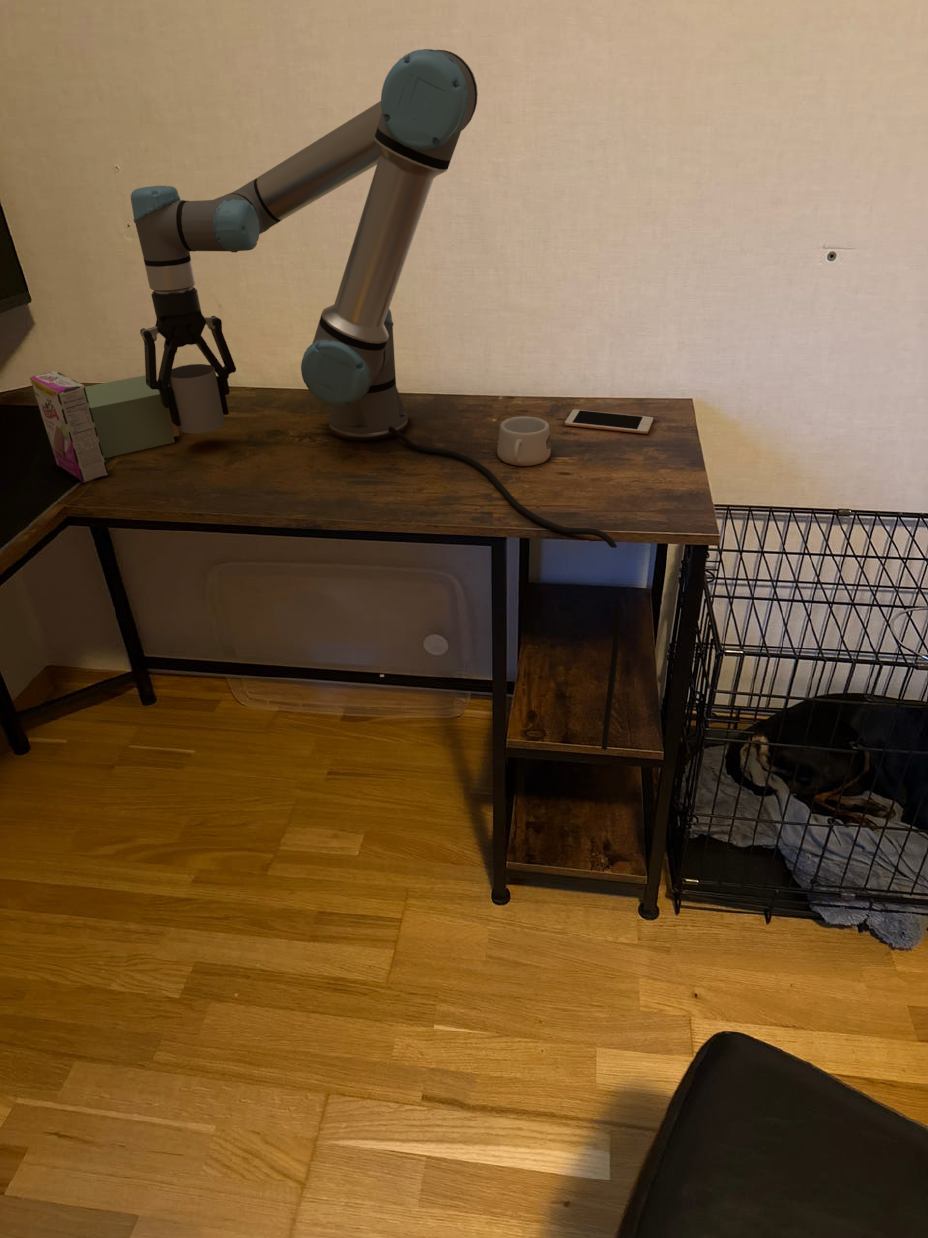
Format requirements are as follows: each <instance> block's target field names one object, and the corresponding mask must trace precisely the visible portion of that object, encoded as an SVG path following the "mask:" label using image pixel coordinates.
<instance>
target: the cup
mask: <svg viewBox="0 0 928 1238" xmlns="http://www.w3.org/2000/svg"><path fill="white" fill-rule="evenodd" d="M216 376H217V373H216V372H215V368H214V367H213V366H211V365H210V364H207V363H193V364H185V365H180V366H176V367H174V368H173V367H172V372H171V376H170V381H169V387H170V388H171V389H172V390H173V393H174V397H175V402H176V406H177V411H178V415H179V419H180V424H181V426H177V427H178V431H181V432H182V433H185V434H205V433H210V432H214V431H216V430H219V429H221V428H223V427H224V426H225V425H226V419H225V415H224V414H223V408H222V403H221V398H220V393H219V388H218V383H217V377H216Z"/></svg>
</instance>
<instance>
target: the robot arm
mask: <svg viewBox="0 0 928 1238" xmlns="http://www.w3.org/2000/svg"><path fill="white" fill-rule="evenodd" d="M380 95H381V96H380V100H379V101H378V102H376V103H375V104H373V105H371V106H370V107H369V108H367V109H365V110H363V111H362V112H360V113H359V114H357V115H356V116H354V117H352V118H351V119H349V120H347V121H346V122H344V123H342V124H341V125H339V126H338V127H336V128H334V129H333V130H331V131H330V132H328V133H326V134H325V135H323V136H321V137H320V138H319V139H317V140H315V141H313V142H312V143H311V144H309V145H307V146H305V147H304V148H302V149H300V150H299V151H297V152H296V153H294V154H293V155H291V156H289V157H288V158H286V159H285V160H283V161H281V162H280V163H279V164H277V165H275V166H273V167H272V168H270V169H269V170H267V171H266V172H264V173H261V174H260V175H259V176H258V177H255V178H254V179H252V180H251V181H249V182H248V183H245V184H244V185H242V186H241V187H239V188H237V189H236V190H234V191H232V192H230V193H227V194H223V195H222V196H219V197H216V198H214V199H206V200H204V199H203V200H185V199H181V197H180V194H179V192H178V189H177V188H176V187H175V186H171V185H152V186H150V185H149V186H142V187H139V188H135V189H134V190H132V192H131V193H130V204H131V209H132V213H133V223H134V224H135V228H136V232H137V237H138V240H139V245H140V249H141V253H142V257H143V258H142V259H143V262H144V267H145V271H146V277H147V281H148V285H149V289H150V290H151V291H152V293H151V294H150V295H151V300H152V303H153V309H154V313H155V318H156V321H155V324H154V325H155V326H151V327H149V328H145V327H143V328H141V329H140V330H139V334H140V335H141V337H142V340H143V346H144V368H145V369H144V370H145V376H146V384H147V386H149V387H150V388H151V389H153V390H154V389H157V390H159V393H160V397H161V401H162V404H163V406H164V407H165V408H169V411H170V415H171V420H172V423H174V424H175V425H176V426H177V427H178V426H181V424H180V419H179V415H178V411H177V406H176V402H175V397H174V393H173V390H172V389H171V388H170V387H169V381H170V376H171V372H172V369H173V367H174V363H175V357H176V354H177V353H178V349H179V348H183V347H185V346H187V345H189V346H193V345H196V346H197V348H198V349H199V351H200V352H201V353H202V355H203V356H204V358H205V359H206V361H207V362H208V363H209V365H211V366H213V367H214V368H215V372H216V377H217V383H218V388H219V393H220V398H221V403H222V408H223V414H224V416H227V415H229V414H230V412H229V407H228V402H227V397H226V396H228V395H230V393H231V391H230V385H229V380H228V379H229V378H230V374H235V373H236V371H237V367H236V364H235V362H234V359H233V356H232V354H231V351H230V349H229V346H228V343H227V341H226V338H225V336H224V333H223V321H222V320H221V318H219V317H217V316H216V315H212V316H210V317H208V316H207V317H205V316H204V315H203V313H202V308H201V303H200V297H199V293H198V289H197V288H195V285H196V284H197V283H196V278H195V272H194V269H193V268H194V267H193V263H192V258H191V252H231V253H238V252H247V251H248V252H249V251H252V250H254V249H255V248H256V247H257V245H258V242H259V239H260V235H262V234H263V233H265V232H266V231H268V230H269V229H270V228H272V227H274V226H275V225H277V224H279V223H280V222H282V221H283V220H285V219H286V218H288V217H290V216H292V215H294V214H295V213H297V212H298V211H300V210H302V209H303V208H305V207H307V206H309V205H310V204H312V203H314V202H316V201H317V200H319V199H320V198H322V197H324V196H326V195H328V194H330V193H331V192H333V191H335V190H336V189H338V188H340V187H341V186H343V185H345V184H346V183H348V182H350V181H352V180H353V179H356V178H357V177H359V176H360V175H362V174H363V173H366V172H367V171H369V170H370V169H372V168H374V167H375V169H374V174H373V176H372V180H371V183H370V186H369V190H368V192H367V196H366V200H365V203H364V206H363V209H362V212H361V216H360V219H359V222H358V225H357V229H356V232H355V235H354V239H353V242H352V245H351V248H350V251H349V254H348V258H347V262H346V264H345V268H344V272H343V274H342V277H341V281H340V285H339V287H338V291H337V294H336V297H335V300H334V303H333V304H331V305H329V306H327V307H325V308H324V309H322V312H321V314H320V318H319V321H318V323H317V328H316V331H315V334H314V338H313V340H312V342H311V344H310V345H309V346H308V347H307V348H306V350H305V351H304V352H303V356H302V358H301V363H300V373H301V377H302V380H303V383H304V384H305V386H306V387H307V389H308V391H309V393H310V394H311V395H313V396H314V397H315V398H316V399H317V400H318V401H320V402H322V403H324V404H326V405H329V406H331V407H330V412H329V415H328V427H329V431H330V433H331V434H332V435H333V436H336V437H337V438H339V439H343V440H347V441H354V442H372V441H380V440H386V439H390V438H393V437H395V436H396V437H397V438H399V440H401V441H403V443H405V444H406V445H407V446H409V447H410V448H411V449H414V450H416V451H419V452H422V453H426V454H433V455H441V456H446V457H451V458H455V459H458V460H461V461H463V462H465V463H467V464H469V465H471V466H472V467H474V468H476V469H477V470H478V471H480V472H481V473H482V474H484V475H485V476H486V477H487V479H489V480H490V481H491V482H492V484H493V485H494V487H496V489H497V490H498V491H499V492H500V493H501V494H502V495H503V497H505V499H506V500H507V501H508V502H509V504H510V505H512V506H513V508H515V509H516V510H517V511H518V512H520V513H521V514H522V515H524V516H525V517H527V518H528V519H530V520H532V522H533V521H534V522H535V523H537V524H539V525H540V526H543V527H546V528H548V529H550V530H553V531H555V532H558V533H562V534H567V535H587V536H594V537H598V538H599V539H602V540H603V541H604V542H606V544H607V545H608V546H609V547H610V548H612V549H616V548H618V546H617V544H616V542H615V540H613V538H612V537H611V536H610V535H608V534H607V533H605V532H604V531H602V530H600V529H596V528H591V527H590V528H589V527H566V526H562V525H560V524H557V523H554V522H552V521H550V520H547V519H544V518H543V517H541V516H539V515H537V514H535V513H533V512H532V511H531V510H529V509H527V508H526V507H524V506H523V505H522V504H520V502H519V501H517V500H516V499H515V498H514V496H513V495H512V494H511V493H510V491H508V489H507V488H505V486H504V485H503V484H502V483H501V482H500V480H499V479H498V478H497V477H496V476H495V474H494V473H493V472H491V471H490V470H489V469H488V468H487V467H485V466H484V465H483V464H481V463H480V462H478V461H477V460H476V459H473V458H471V457H469V456H466V455H464V454H461V453H460V452H457V451H454V450H449V449H443V448H442V449H440V448H433V447H429V446H428V447H427V446H424V445H420V444H417V443H415V442H414V441H412V440H411V439H410V438H409V437H407V436H406V435H405V434H403V433H404V432H405V431H406V430H407V429H408V426H409V421H408V413H407V411H406V408H405V406H404V403H403V400H402V398H401V395H400V393H399V390H398V387H397V381H396V380H397V378H396V361H395V359H396V358H395V343H394V322H393V317H392V315H393V314H392V311H391V309H390V307H391V304H392V301H393V297H394V294H395V293H396V289H397V286H398V283H399V280H400V278H401V274H402V272H403V269H404V265H405V263H406V260H407V258H408V254H409V251H410V249H411V245H412V242H413V240H414V237H415V234H416V231H417V228H418V225H419V223H420V219H421V217H422V213H423V212H424V208H425V206H426V202H427V199H428V196H429V193H430V192H431V191H430V190H431V188H432V184H433V181H434V179H435V178H437V176H440V175H442V174H444V173H446V172H447V171H448V170H449V167H450V163H451V161H452V158H453V155H454V153H455V151H456V148H457V144H458V142H459V139H460V136H461V134H462V131H464V130H465V129H466V128H467V126H468V125H469V124H470V122H471V121H472V119H473V116H474V114H475V112H476V109H477V105H478V96H479V95H478V85H477V81H476V77H475V75H474V73H473V71H472V69H471V67H470V66H469V64H467V62H466V61H465V60H464V59H463V58H462V57H460V56H459V55H458V54H457V53H454V52H452V51H449V50H445V49H431V48H424V49H417V50H413V51H411V52H408V53H406V54H404V56H402V57H401V58H399V59H398V60H397V62H396V63H394V65H392V67H391V69H390V70H389V72H388V73H387V75H386V76H385V79H384V81H383V84H382V89H381V94H380ZM206 326H207V328H208V330H210V332H211V334H212V337H213V340H214V343H215V345H216V347H217V351H218V354H219V355H220V358H221V360H222V363H223V365H222V364H221V363H220V361H219V359H217V356H216V355H215V354H214V353H213V351H212V350H211V348H210V346H209V345H208V343H207V342H206V340H205V339H204V337H203V336H202V334H203V331H204V329H205V327H206ZM158 334H159V335H161V336H162V337H163V338H164V343H163V352H162V357H161V358H162V359H161V362H160V367H159V372H158V375H157V350H156V341H157V339H158ZM620 628H621V604H618V605H615V606H613V627H612V629H613V630H612V642H611V643H612V645H611V657H610V664H609V665H610V666H609V673H608V675H609V676H608V684H607V691H606V692H607V693H606V702H605V709H604V717H603V728H602V737H601V738H602V739H601V749H604V750H606V749H607V750H608V743H609V734H610V733H609V732H610V722H611V716H612V715H611V714H612V706H613V699H614V698H613V697H614V691H615V682H616V674H617V664H618V656H619V645H620V643H619V642H620V631H621V630H620Z"/></svg>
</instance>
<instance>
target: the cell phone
mask: <svg viewBox="0 0 928 1238" xmlns="http://www.w3.org/2000/svg"><path fill="white" fill-rule="evenodd" d="M653 422H654V417H653V416H647V415H646V416H645V415H637V414H636V415H635V414H626V413H617V412H616V413H615V412H608V411H607V412H605V411H597V410H587V409H585V410H584V409H574V408H573V409H572V411H570V413H569V415H568V417H567V418H566V420H564V426H568V427H578V428H588V429H597V430H607V431H615V432H626V433H634V434H644V435H647V434H649V432H650V429H651V427H652V426H653V425H652V424H653Z"/></svg>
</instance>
